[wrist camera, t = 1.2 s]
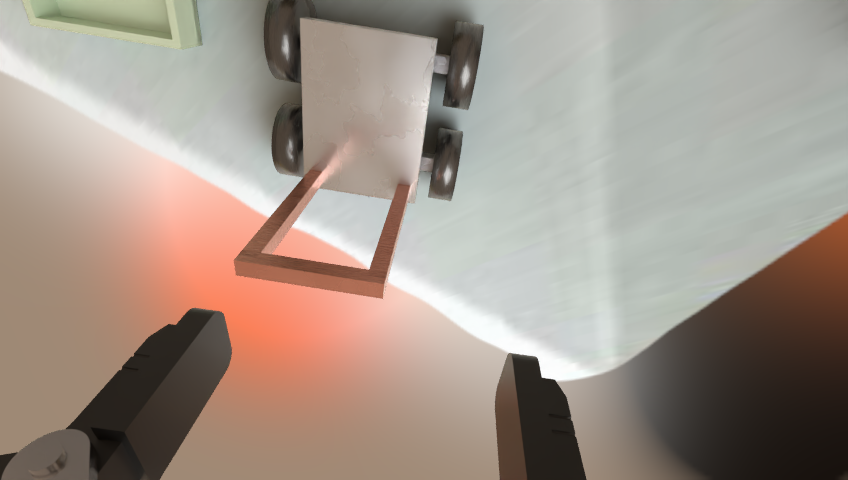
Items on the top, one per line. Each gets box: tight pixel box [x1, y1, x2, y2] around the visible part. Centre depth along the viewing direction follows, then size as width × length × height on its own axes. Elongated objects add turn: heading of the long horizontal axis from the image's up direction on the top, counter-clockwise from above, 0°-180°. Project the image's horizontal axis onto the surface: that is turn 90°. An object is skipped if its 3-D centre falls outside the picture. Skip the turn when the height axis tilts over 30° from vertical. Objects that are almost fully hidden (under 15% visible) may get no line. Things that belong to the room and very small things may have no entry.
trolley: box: [234, 0, 484, 299], centre depth 27 cm, size 14×15×20 cm
